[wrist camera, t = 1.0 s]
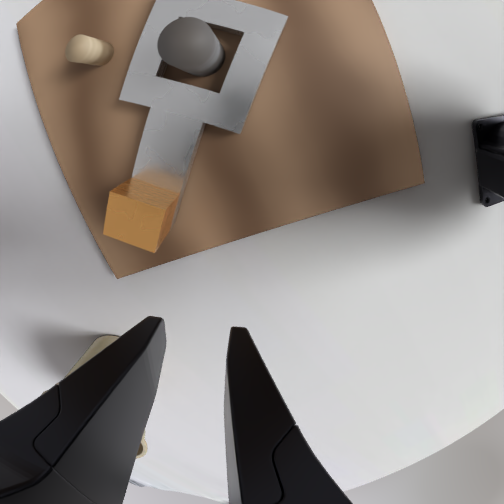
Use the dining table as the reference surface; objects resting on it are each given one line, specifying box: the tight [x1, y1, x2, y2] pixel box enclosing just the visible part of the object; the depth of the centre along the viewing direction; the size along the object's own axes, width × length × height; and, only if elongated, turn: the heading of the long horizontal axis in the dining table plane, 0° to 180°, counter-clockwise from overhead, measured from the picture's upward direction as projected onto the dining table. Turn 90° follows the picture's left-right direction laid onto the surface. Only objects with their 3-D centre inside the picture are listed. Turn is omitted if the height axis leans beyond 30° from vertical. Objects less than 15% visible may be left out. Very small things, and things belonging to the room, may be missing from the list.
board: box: [17, 0, 425, 279], centre depth 12 cm, size 22×22×5 cm
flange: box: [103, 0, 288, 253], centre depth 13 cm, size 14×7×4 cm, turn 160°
